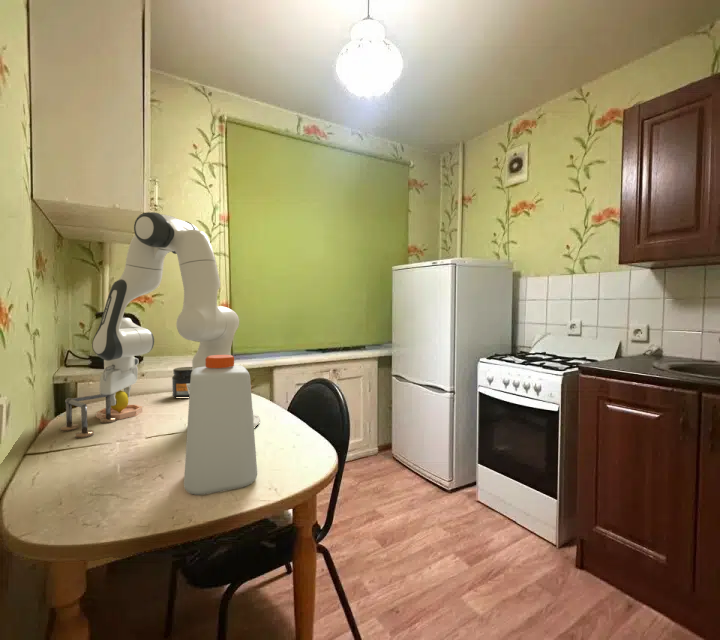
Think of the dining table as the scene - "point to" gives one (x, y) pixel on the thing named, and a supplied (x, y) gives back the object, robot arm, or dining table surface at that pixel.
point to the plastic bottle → (220, 428)
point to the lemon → (120, 401)
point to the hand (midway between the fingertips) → (119, 401)
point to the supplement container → (181, 381)
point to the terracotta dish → (125, 413)
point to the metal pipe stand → (85, 415)
